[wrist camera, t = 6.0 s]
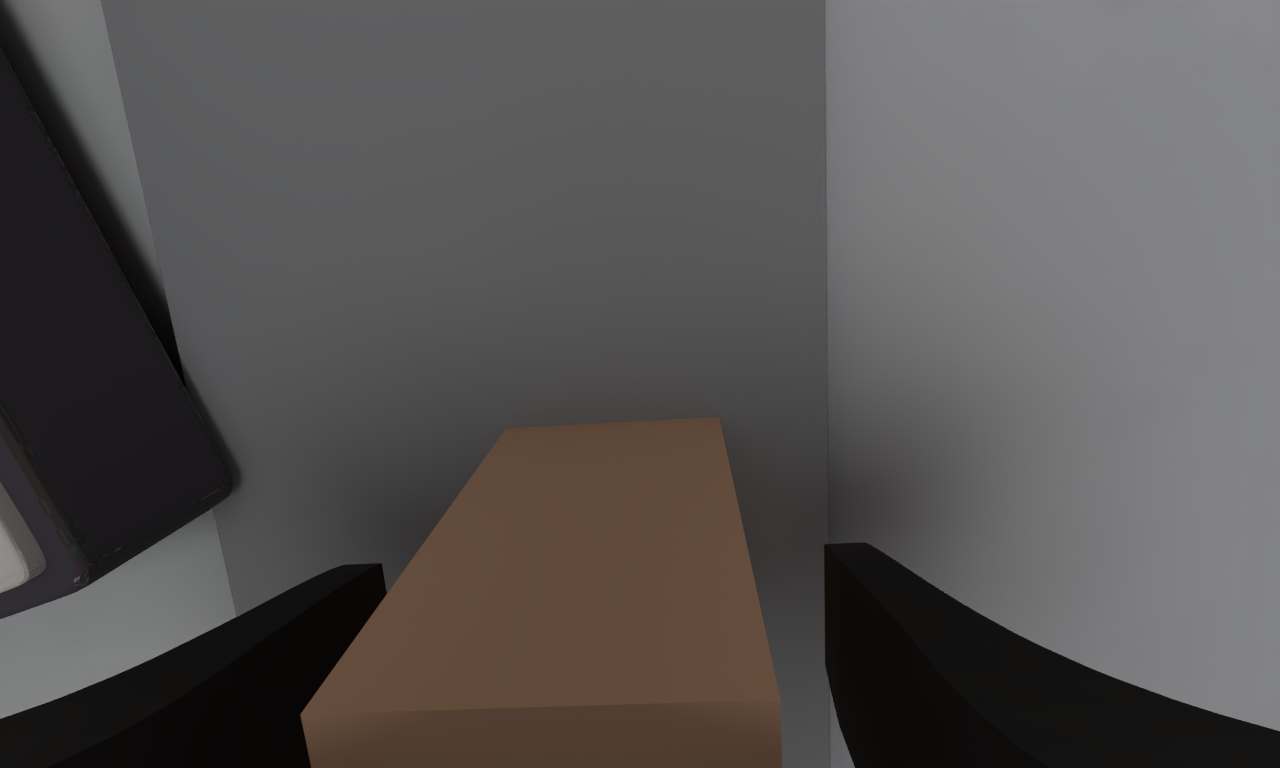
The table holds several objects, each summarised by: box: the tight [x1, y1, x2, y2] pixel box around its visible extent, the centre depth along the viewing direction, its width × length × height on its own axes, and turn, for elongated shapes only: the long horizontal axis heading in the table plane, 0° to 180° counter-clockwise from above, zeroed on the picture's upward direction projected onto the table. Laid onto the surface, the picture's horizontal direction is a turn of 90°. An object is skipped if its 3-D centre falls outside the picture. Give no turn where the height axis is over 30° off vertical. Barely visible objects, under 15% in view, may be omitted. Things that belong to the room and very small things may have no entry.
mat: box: [101, 0, 830, 768], centre depth 14 cm, size 18×12×1 cm, turn 4°
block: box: [300, 417, 782, 768], centre depth 10 cm, size 4×4×8 cm
